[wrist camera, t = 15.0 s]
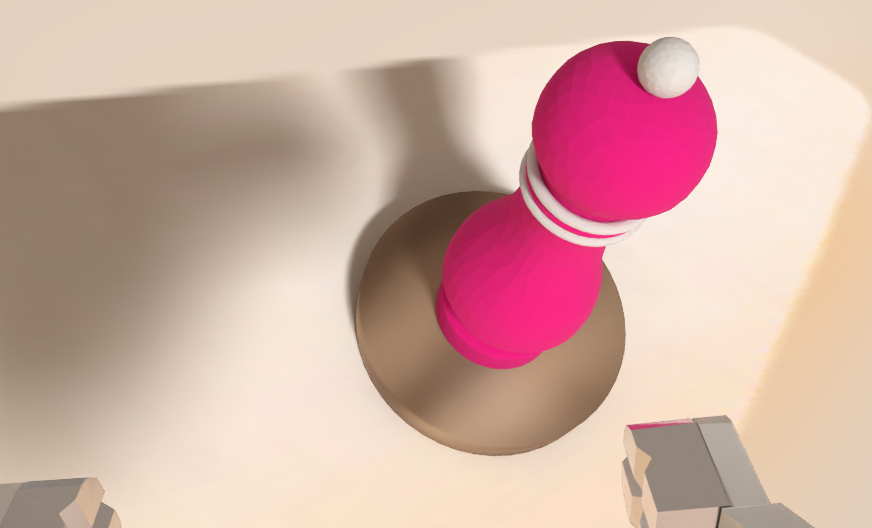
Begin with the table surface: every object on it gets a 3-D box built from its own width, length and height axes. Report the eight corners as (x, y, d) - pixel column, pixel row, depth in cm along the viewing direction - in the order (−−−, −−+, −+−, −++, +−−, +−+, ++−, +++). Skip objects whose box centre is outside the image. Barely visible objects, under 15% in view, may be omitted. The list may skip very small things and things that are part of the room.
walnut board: (298, 335, 40) (300, 320, 38) (458, 166, 46) (466, 146, 44) (520, 515, 38) (533, 508, 36) (654, 313, 44) (670, 299, 43)
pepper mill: (444, 391, 38) (609, 165, 20) (411, 257, 41) (531, -44, 23) (579, 367, 40) (838, 142, 22) (539, 241, 43) (740, -48, 25)
